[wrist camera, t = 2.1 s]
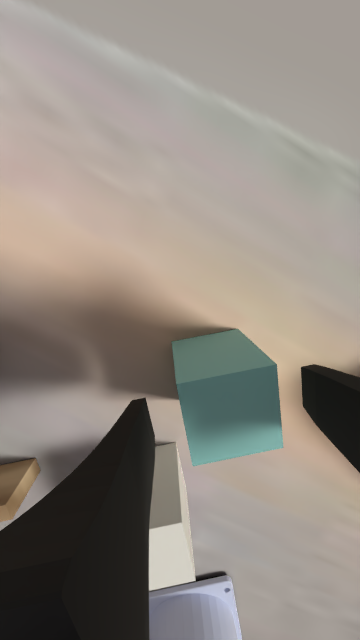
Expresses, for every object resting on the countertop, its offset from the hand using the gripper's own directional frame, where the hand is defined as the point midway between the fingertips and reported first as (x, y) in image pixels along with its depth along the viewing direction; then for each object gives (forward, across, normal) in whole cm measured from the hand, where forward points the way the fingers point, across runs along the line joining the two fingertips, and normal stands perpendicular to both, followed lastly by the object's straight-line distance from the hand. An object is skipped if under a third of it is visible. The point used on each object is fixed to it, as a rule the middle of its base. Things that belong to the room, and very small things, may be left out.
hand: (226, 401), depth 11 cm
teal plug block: (+4, 0, 0) cm, 4 cm away
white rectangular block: (+4, +5, +7) cm, 10 cm away
